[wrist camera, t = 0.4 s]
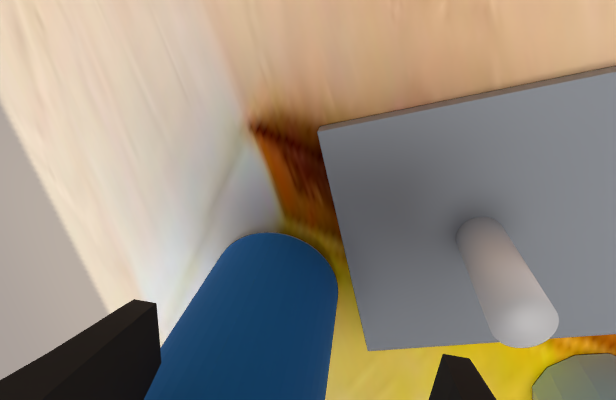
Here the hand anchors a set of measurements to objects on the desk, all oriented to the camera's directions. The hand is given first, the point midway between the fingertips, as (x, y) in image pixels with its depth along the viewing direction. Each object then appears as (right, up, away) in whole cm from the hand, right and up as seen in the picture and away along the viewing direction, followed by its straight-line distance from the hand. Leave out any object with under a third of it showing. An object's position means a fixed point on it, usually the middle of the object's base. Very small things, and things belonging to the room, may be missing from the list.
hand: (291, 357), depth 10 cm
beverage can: (-1, 0, +11) cm, 11 cm away
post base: (+8, +3, +8) cm, 12 cm away
